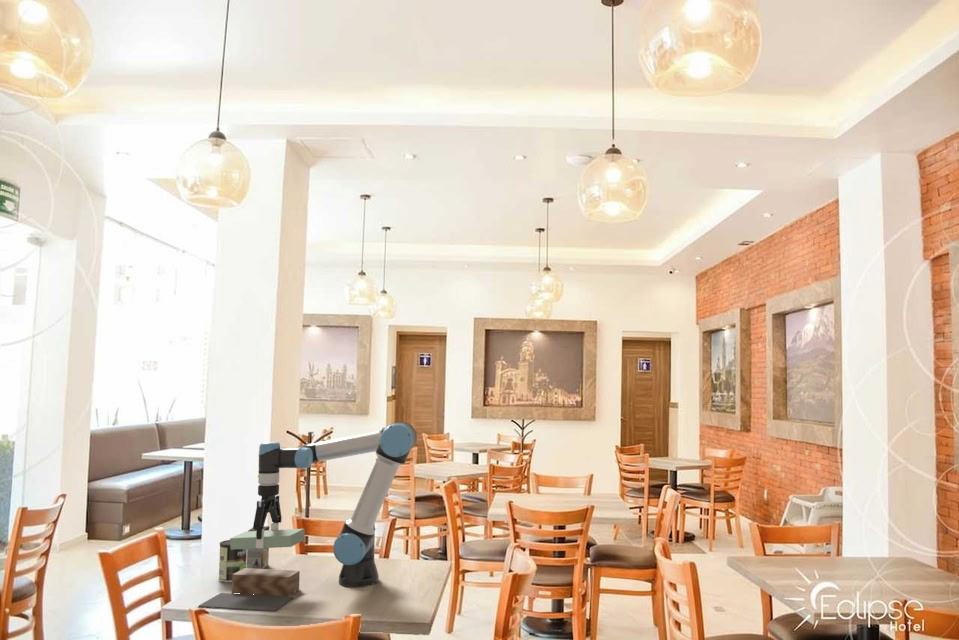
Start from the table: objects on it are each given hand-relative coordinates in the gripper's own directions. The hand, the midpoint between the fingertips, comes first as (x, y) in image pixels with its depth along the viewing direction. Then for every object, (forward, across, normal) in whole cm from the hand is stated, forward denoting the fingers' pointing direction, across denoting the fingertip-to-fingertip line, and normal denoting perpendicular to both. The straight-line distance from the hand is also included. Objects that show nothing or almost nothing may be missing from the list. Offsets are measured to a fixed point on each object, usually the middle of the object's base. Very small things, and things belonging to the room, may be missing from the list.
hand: (267, 544), depth 257 cm
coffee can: (+17, -13, -20) cm, 29 cm away
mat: (+17, +14, 0) cm, 22 cm away
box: (+17, 0, 0) cm, 17 cm away
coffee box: (+17, -30, -18) cm, 39 cm away
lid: (0, 0, 0) cm, 0 cm away
